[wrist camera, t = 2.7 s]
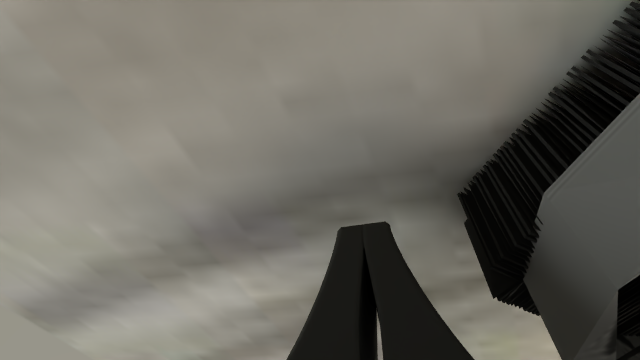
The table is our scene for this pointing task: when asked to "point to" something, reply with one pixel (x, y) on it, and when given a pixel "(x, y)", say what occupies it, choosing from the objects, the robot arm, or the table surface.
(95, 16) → the table surface
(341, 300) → the robot arm
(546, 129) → the cpu cooler
